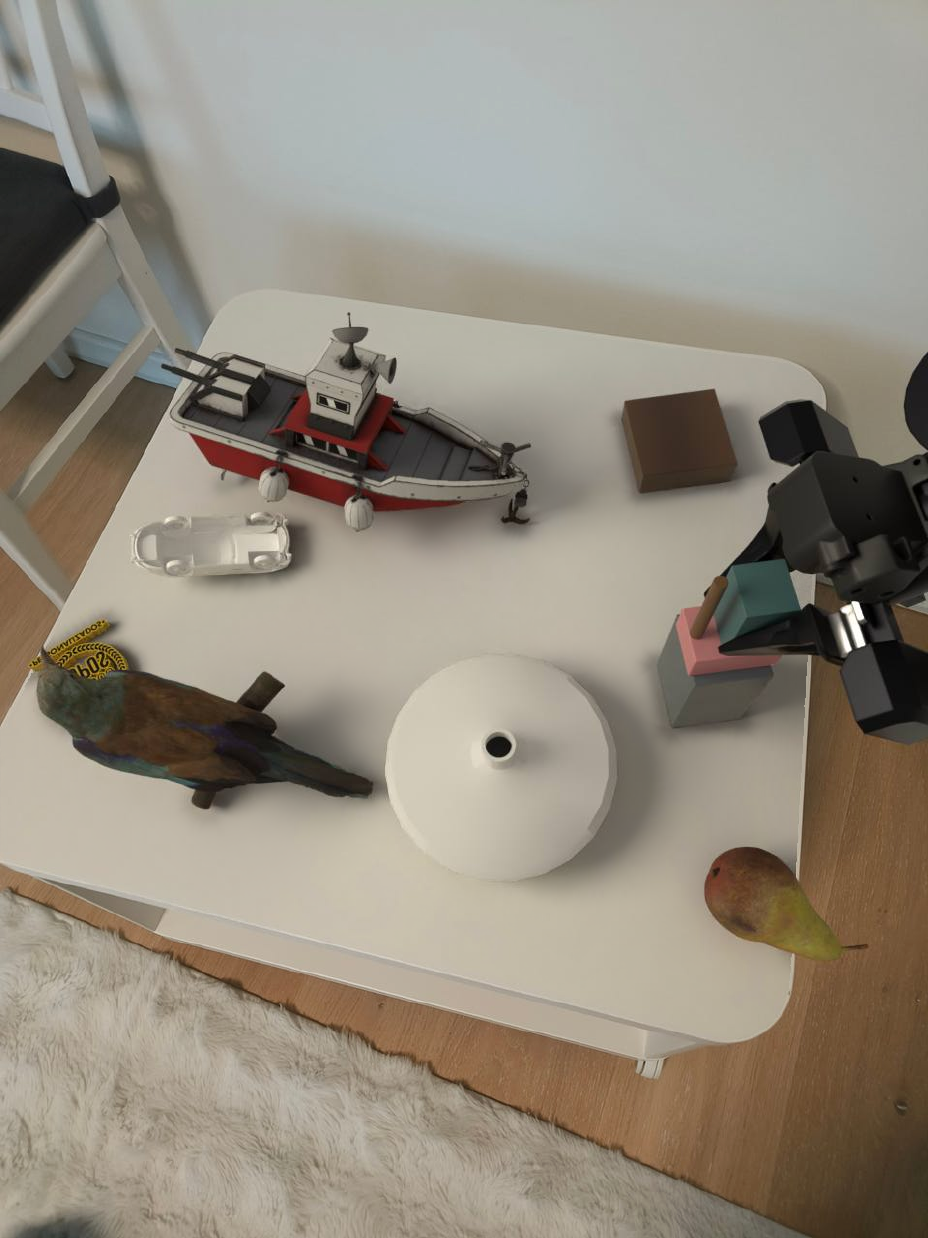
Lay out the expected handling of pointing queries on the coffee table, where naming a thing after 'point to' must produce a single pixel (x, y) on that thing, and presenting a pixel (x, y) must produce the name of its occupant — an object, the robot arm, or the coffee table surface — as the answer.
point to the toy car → (213, 545)
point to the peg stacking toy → (736, 615)
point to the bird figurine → (183, 733)
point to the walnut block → (678, 441)
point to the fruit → (768, 905)
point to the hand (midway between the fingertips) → (714, 624)
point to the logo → (85, 654)
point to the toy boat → (339, 435)
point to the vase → (501, 767)
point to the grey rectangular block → (705, 688)
